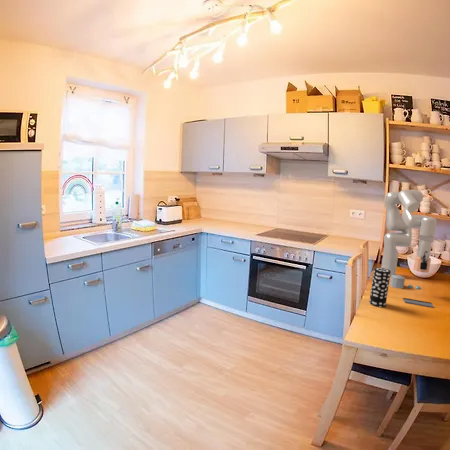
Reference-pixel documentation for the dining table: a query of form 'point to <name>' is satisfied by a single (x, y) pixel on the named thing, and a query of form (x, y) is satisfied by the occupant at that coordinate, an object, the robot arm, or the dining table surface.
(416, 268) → the peach rounded capsule
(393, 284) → the grey cup
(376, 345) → the dining table surface
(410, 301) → the mat
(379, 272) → the spotted tube
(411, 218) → the robot arm
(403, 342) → the dining table surface
